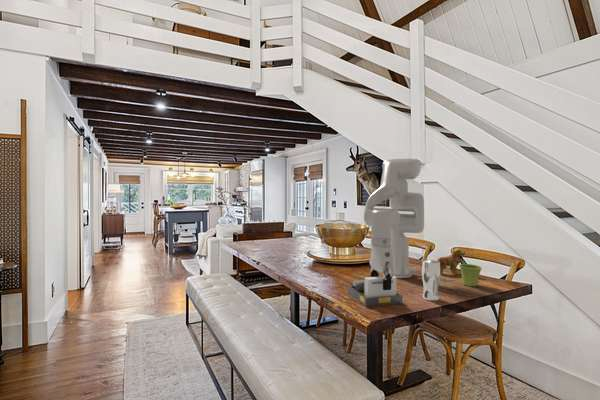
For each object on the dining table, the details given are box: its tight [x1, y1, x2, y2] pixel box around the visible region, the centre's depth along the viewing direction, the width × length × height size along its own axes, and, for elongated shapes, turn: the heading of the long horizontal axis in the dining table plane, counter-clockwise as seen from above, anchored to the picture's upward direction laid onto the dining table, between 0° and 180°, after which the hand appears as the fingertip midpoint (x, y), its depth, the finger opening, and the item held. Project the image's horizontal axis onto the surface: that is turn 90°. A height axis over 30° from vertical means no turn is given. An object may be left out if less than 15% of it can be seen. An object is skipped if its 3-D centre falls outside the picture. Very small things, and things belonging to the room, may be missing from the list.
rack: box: [347, 279, 403, 308], centre depth 132 cm, size 15×17×6 cm
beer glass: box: [421, 259, 441, 302], centre depth 132 cm, size 7×7×15 cm
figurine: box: [436, 248, 466, 276], centre depth 172 cm, size 15×6×13 cm, turn 94°
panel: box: [364, 275, 398, 298], centre depth 127 cm, size 12×3×9 cm, turn 105°
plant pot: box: [458, 263, 483, 288], centre depth 151 cm, size 9×9×9 cm
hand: (380, 286), depth 127 cm, fingers open, 9 cm apart
